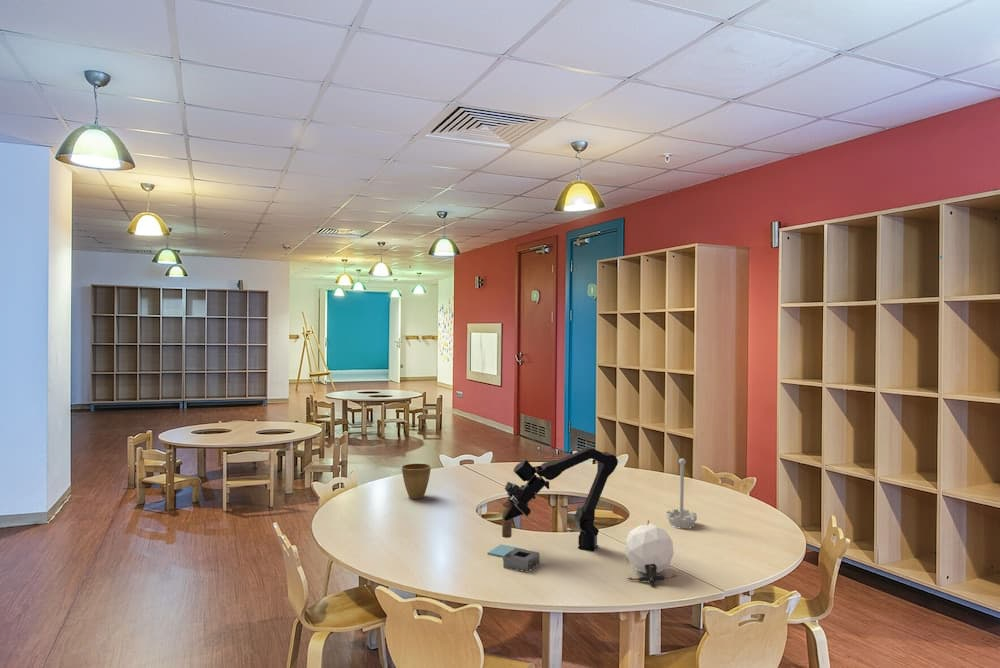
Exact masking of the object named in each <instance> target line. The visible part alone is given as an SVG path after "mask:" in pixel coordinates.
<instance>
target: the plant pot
mask: <svg viewBox="0 0 1000 668" xmlns="http://www.w3.org/2000/svg"><path fill="white" fill-rule="evenodd" d="M431 469H432V466H431V464H427V463H409V464H408V463H407V464H404V465H402V466H401V473H402V477H403V482H404V487H405V490H406V493H407V495H408V498H409V499H411V500H420V499H423V498H425V494H426V491H427V488H428V484H429V480H430V476H431V475H430V474H431Z"/></svg>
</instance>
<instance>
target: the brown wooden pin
mask: <svg viewBox="0 0 1000 668" xmlns="http://www.w3.org/2000/svg"><path fill="white" fill-rule="evenodd" d="M501 505H502V515H501V517H502V520H501V521H502V523H501V527H502V529H501V531H502V535H501V536H502V538H505V539H508V538H512V533H513V532H512V528H513V527H512V521H513V518H512V519H509V520H507V521H505V520H504V518H505V516H506V515H507V513H508V512H509V511H510V509H511V508H512V502H511V501H510V500H509V499H508V498H506V499H504V500H503V501H502V503H501Z"/></svg>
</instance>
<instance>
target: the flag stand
mask: <svg viewBox="0 0 1000 668" xmlns="http://www.w3.org/2000/svg"><path fill="white" fill-rule="evenodd" d="M686 461H687V460H686V459H685V458H680V459H678V463H679V465H680V467H679V468H680V471H679V472H680V473H679V476H680V477H679V482H680V483H679V509H678V508H673V509H668V510H666V519H667V520H668V525H669V524H670V525H671V526H670V525H669V526H670V527H672V526H675V527H680V528H690V527H693V526H694V527H695V523H696V522H697V520H698V519H697V513H696V512H695V511H691V512H690V510H689V509H685V508H684V488H685V487H684V485H685V483H684V481H685V475H684V474H685V465H686ZM675 527H674V528H675ZM694 527H693V528H694ZM680 528H679V529H680ZM690 529H691V528H690Z"/></svg>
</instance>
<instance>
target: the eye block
mask: <svg viewBox="0 0 1000 668" xmlns="http://www.w3.org/2000/svg"><path fill="white" fill-rule="evenodd" d="M519 548H520V547H518V548H515V549H513V550H512V551H510V552H509V553H508V554H506V555H505V556H503V557H502V558H503V564H502V565H503V568H506V567H507V569H510V568H512V570H515V569H518V570H517V571H520V570H523V571H522V572H524V571H529V570H530V569H531V570H532V568H533V567H534V566H535V567H536V565H537V564H538V565H539V564H540V555H541V554H540V552H539V551H533V550H527V549H525V548H523V549H519ZM524 549H525V550H524ZM538 565H537V566H538ZM535 567H534V568H535ZM534 568H533V569H534ZM531 570H530V571H531ZM530 571H529V572H530Z"/></svg>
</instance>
